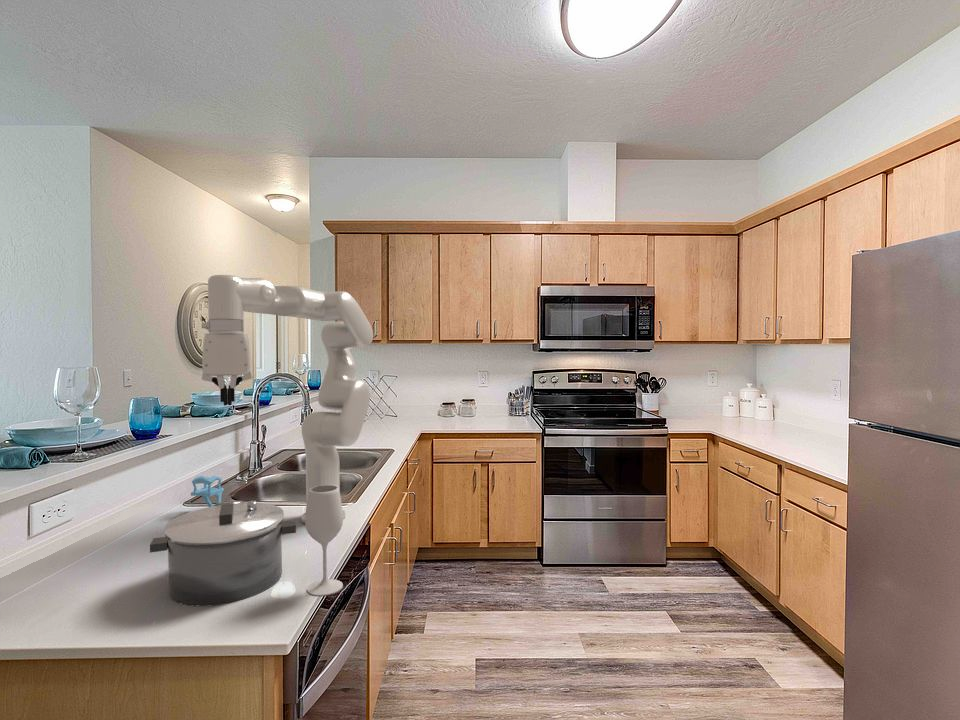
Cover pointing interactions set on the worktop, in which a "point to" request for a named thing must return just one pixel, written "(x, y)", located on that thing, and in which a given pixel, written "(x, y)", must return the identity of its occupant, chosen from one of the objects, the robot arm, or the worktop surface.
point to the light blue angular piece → (207, 488)
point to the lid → (224, 523)
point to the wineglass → (324, 530)
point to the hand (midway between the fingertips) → (227, 404)
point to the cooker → (224, 567)
